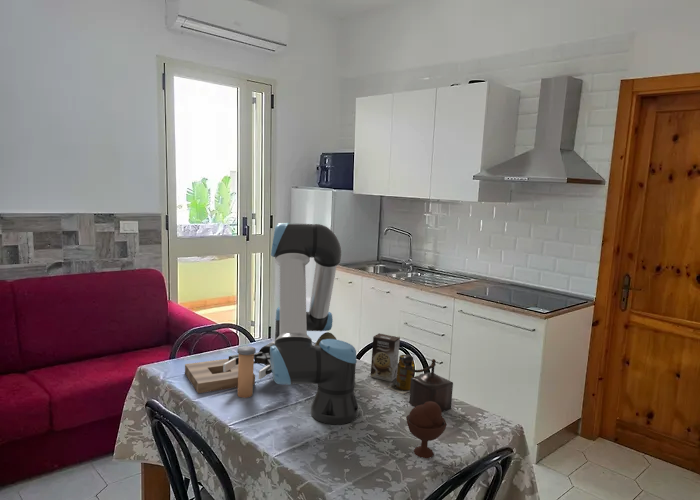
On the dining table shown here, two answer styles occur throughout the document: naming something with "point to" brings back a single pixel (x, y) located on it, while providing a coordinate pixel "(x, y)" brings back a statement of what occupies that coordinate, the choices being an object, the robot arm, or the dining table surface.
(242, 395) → the peg
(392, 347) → the cookie box
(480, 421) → the dining table surface
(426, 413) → the ice cream bowl
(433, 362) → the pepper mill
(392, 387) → the condiment
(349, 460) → the dining table surface
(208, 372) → the walnut block
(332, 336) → the decorative egg
